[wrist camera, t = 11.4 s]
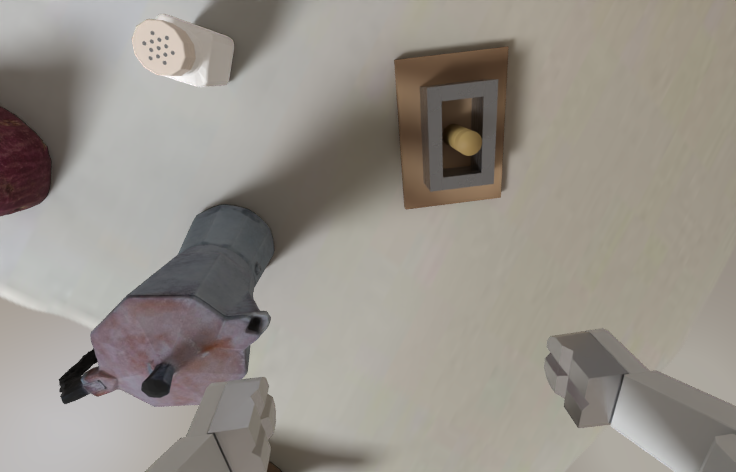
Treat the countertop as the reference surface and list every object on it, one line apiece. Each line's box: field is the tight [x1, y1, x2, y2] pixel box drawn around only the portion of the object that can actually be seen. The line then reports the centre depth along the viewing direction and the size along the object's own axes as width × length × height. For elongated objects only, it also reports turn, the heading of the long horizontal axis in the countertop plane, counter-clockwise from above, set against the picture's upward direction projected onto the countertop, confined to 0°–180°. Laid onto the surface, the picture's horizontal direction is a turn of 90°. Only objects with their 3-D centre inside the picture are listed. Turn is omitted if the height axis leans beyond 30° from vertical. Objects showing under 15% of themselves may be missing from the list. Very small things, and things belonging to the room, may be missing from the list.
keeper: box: [394, 47, 508, 209], centre depth 32 cm, size 14×10×6 cm
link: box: [420, 79, 498, 192], centre depth 32 cm, size 9×6×3 cm, turn 6°
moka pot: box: [59, 205, 274, 407], centre depth 29 cm, size 10×15×20 cm, turn 113°
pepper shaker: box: [132, 14, 234, 87], centre depth 26 cm, size 4×4×10 cm
